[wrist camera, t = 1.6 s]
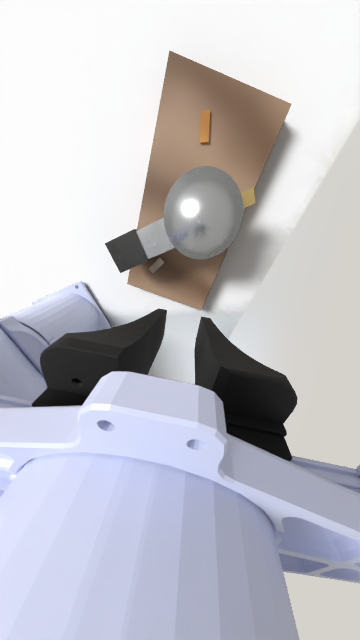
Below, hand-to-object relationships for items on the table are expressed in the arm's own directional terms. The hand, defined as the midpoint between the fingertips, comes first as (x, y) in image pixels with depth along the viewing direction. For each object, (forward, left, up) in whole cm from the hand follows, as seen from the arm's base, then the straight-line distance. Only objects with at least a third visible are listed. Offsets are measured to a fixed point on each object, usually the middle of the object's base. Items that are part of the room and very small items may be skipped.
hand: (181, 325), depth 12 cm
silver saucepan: (+1, +6, -8) cm, 10 cm away
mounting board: (+2, +7, -10) cm, 13 cm away
